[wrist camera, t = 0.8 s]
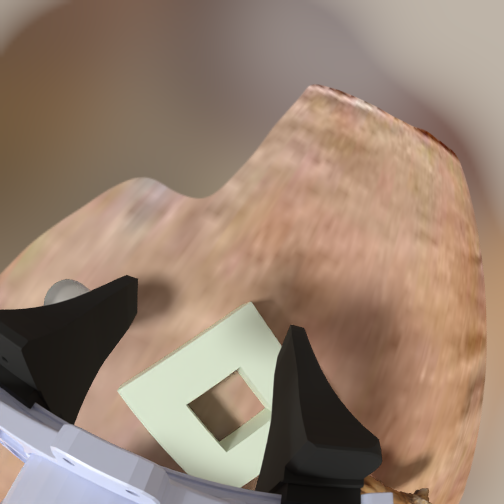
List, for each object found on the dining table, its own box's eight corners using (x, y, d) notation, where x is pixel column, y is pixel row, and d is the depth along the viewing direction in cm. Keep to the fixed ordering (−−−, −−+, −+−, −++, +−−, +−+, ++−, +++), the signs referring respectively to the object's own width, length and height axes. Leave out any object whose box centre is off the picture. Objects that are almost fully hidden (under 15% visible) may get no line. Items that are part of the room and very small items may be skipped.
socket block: (211, 488, 23) (218, 502, 20) (121, 384, 23) (117, 390, 21) (315, 409, 28) (330, 415, 26) (241, 304, 29) (251, 301, 26)
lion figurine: (399, 477, 29) (445, 493, 21) (380, 507, 27) (424, 527, 19) (330, 456, 27) (380, 481, 19) (306, 492, 25) (350, 525, 17)
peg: (82, 343, 23) (60, 346, 17) (61, 306, 23) (35, 296, 17) (116, 322, 25) (104, 318, 18) (95, 284, 25) (77, 269, 19)
